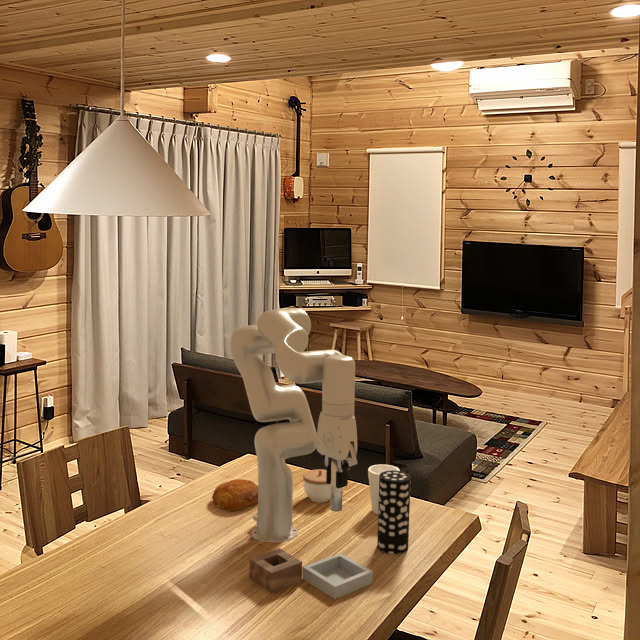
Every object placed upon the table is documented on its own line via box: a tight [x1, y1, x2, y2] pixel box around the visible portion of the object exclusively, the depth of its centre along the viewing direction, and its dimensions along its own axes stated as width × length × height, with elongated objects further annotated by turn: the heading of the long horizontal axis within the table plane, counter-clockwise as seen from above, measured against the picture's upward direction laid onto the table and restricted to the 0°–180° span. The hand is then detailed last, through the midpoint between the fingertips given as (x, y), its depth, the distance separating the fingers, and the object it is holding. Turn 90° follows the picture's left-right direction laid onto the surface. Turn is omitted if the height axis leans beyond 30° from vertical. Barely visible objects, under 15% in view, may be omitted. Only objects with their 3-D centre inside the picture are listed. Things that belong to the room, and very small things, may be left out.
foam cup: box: [367, 464, 401, 515], centre depth 216 cm, size 10×9×13 cm
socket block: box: [249, 547, 303, 595], centre depth 172 cm, size 9×9×6 cm
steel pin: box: [329, 459, 344, 512], centre depth 169 cm, size 3×3×12 cm
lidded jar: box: [302, 468, 331, 503], centre depth 225 cm, size 11×11×9 cm
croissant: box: [211, 478, 258, 512], centre depth 221 cm, size 14×16×8 cm
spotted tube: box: [376, 470, 412, 555], centre depth 191 cm, size 8×8×20 cm
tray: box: [302, 552, 374, 600], centre depth 172 cm, size 12×12×4 cm
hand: (336, 484), depth 169 cm, fingers closed on steel pin, 2 cm apart
